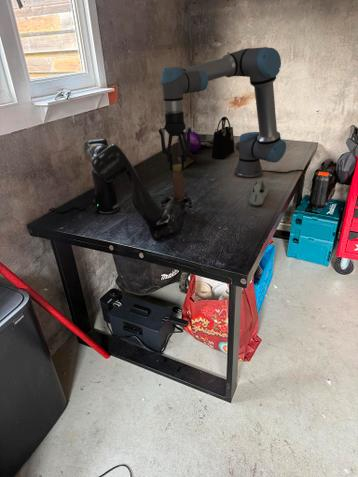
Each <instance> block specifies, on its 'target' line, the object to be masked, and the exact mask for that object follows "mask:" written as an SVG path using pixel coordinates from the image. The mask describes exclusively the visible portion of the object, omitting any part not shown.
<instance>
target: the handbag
mask: <svg viewBox="0 0 358 477" xmlns="http://www.w3.org/2000/svg"><path fill="white" fill-rule="evenodd" d="M226 122H227V125H228V126H226ZM220 124H221V128H220ZM219 128H220V129H219ZM213 135H214V138H213V142H212V146H213V147H212V148H211V158H212V159H221V160H223V159H225V158H227V157H228V156H230V155H232V154H233V153H235V150H236V149H235V136H234V127H233V126H231V122H230V120H229V118H228V117H227V116H222V117H221V118H220V120H219V122H218V124H217V126H216V129H215V130H214V132H213Z"/></svg>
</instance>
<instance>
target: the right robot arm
mask: <svg viewBox="0 0 358 477" xmlns="http://www.w3.org/2000/svg"><path fill="white" fill-rule="evenodd" d="M281 67H282V58H281V55H280V53H279V52H278V50H277V49H275V48H273V47H267V46H264V47H251V48H250V47H248V48H242V49H239V50H236V51H234V52H230V53H227V54H224V55H223V56H222V57H221V58H217V59H214V60H210V61H209V60H208V61H206V62H202V63H198V64H193V65H191V66H185V67H183V68H182V67H180V66H171V67H163V69H162V71H161V77H160V84H161V86H162V92H163V93H162V94H163V109H164V110H163V111H164V122H165V123H164V126H163V127H160V128H159V129H158V133H159V136H160V144H161V153H162V154H165V155H166V161H167V163H169V170H170V171H173V170H172V166H173V165H174V163H173V161H174V160H173V153H171V149H172V144H173V137H177V139H178V138H179V139H178V140H179V141H180V145H181V148H182V152H183V153H182V154H181V161H182V170H181V171H185V168H184V162H186V154H187V153H190V133H191V131H192V127H191V126H186V124H185V112H184V110H185V109H184V94H191V93H200V92H203V91H205V90H206V89H207V88H208V85H209V81H214V80H216V79H220V78H223V77H225V78H232V77H245V78H249V83H250V85H251V86H252V87H253V89H254V99H255V106H256V115H257V124H258V131H251V132H244V133H242V134H240V136H239V141H238V142H239V150H238V162H237V165H236V167H235V169H234V174H235V176H236V177H239V178H243V179H255V178H259V177H261V176H262V175H263V173H273V174H291V173H295V172H301V173H304V174H307V172H306V171H305V170H304V169H292V170H288V171H279V170H277V171H276V170H267V169H266V170H265V169H262V165H261V161H265V162H267V163H278V162H279V161H281V160H282V158H283V157H284V155H285V153H286V150H287V143H286V141H284V140H283V139H281V132H280V131H278V126H277V114H276V102H275V100H276V99H275V89H274V82H275V81H276V80H277V76H278V74H279V73H280V71H281V70H280V69H281ZM182 132H186V133H187V150H186V149H185V145H184V141H183V137H182ZM165 133H167V134H168V135H169V136H168V141H167V146H166V138H165ZM166 147H167V148H166Z"/></svg>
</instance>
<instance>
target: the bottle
mask: <svg viewBox="0 0 358 477" xmlns="http://www.w3.org/2000/svg"><path fill="white" fill-rule="evenodd" d="M184 184H185V183H184V175H183V172H182V170H179V171H174V170H173V174H172V192H173V194H174V200H180V199H181V198H184V195H185V187H184V186H185V185H184ZM185 213H186V208H184V210H183V213H182V215H183V214H185Z"/></svg>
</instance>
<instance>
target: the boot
mask: <svg viewBox="0 0 358 477" xmlns="http://www.w3.org/2000/svg"><path fill="white" fill-rule="evenodd" d="M185 132H186V131H183V132H182V137H183V141H184V145H185V149H186V150H187V140H186V135H185ZM176 141H177V142H178V143H177V144H178V147H177V148H178V149H177V161H178V164H181V165H182V161H181V154H182V153H183V152H182V148H181V145H180V141H179V138H178V137H177V140H176ZM193 154H194V153H191V152H190V153H187V154H186V162H184V169H185V168H187V166H189V165H190V164H192V163H193V162H195V156H194V155H193Z"/></svg>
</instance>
